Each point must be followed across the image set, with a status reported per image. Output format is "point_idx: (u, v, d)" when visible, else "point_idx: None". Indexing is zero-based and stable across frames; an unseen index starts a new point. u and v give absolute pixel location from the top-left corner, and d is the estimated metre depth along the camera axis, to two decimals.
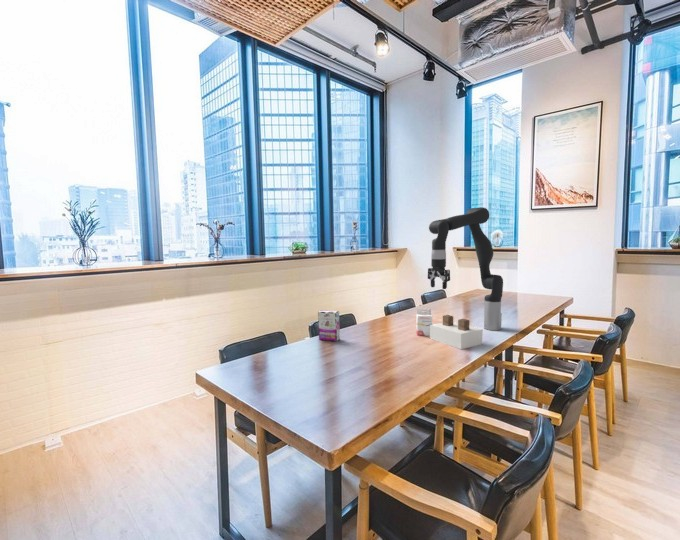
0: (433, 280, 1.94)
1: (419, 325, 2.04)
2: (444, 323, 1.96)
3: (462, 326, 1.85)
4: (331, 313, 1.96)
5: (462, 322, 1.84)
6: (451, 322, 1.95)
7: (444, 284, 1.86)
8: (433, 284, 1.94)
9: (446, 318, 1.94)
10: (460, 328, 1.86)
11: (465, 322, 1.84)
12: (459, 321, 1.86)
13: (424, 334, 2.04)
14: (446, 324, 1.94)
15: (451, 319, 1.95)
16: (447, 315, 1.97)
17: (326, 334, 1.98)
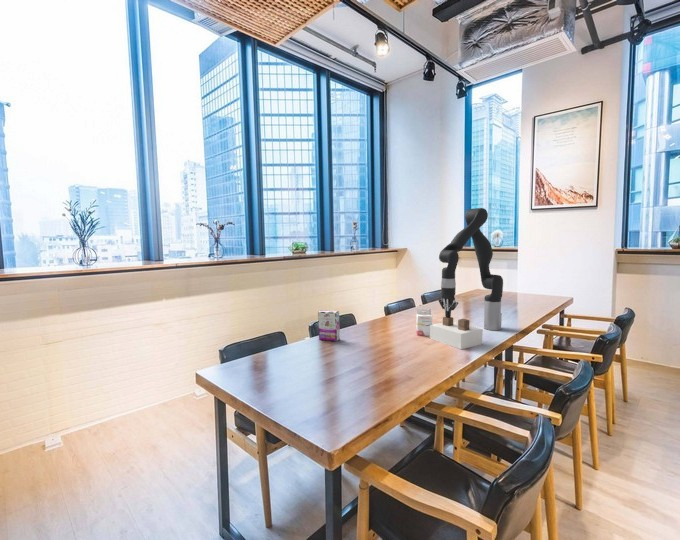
0: None
1: (419, 325, 2.04)
2: (444, 324, 1.96)
3: (462, 326, 1.85)
4: (331, 313, 1.96)
5: (462, 322, 1.84)
6: (451, 323, 1.95)
7: (448, 313, 1.94)
8: None
9: (446, 319, 1.94)
10: (460, 328, 1.86)
11: (465, 322, 1.84)
12: (459, 321, 1.86)
13: (424, 334, 2.04)
14: (446, 325, 1.95)
15: (451, 320, 1.95)
16: None
17: (326, 334, 1.98)
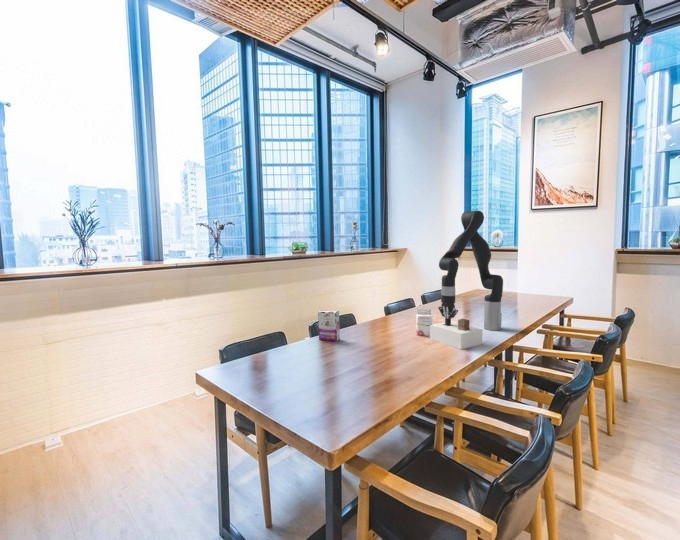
0: None
1: (419, 325, 2.04)
2: None
3: (462, 326, 1.85)
4: (331, 313, 1.96)
5: (462, 322, 1.84)
6: None
7: (448, 321, 1.95)
8: None
9: None
10: (460, 328, 1.86)
11: (465, 322, 1.84)
12: (459, 321, 1.86)
13: (424, 334, 2.04)
14: None
15: None
16: None
17: (326, 334, 1.98)
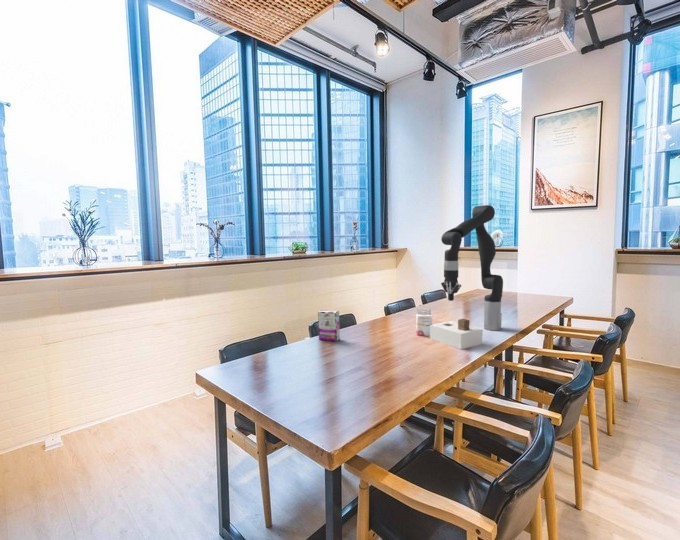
0: None
1: (419, 325, 2.04)
2: None
3: (462, 326, 1.85)
4: (331, 313, 1.96)
5: (462, 322, 1.84)
6: None
7: (451, 296, 1.92)
8: None
9: None
10: (460, 328, 1.86)
11: (465, 322, 1.84)
12: (459, 321, 1.86)
13: (424, 334, 2.04)
14: None
15: None
16: (447, 324, 1.97)
17: (326, 334, 1.98)
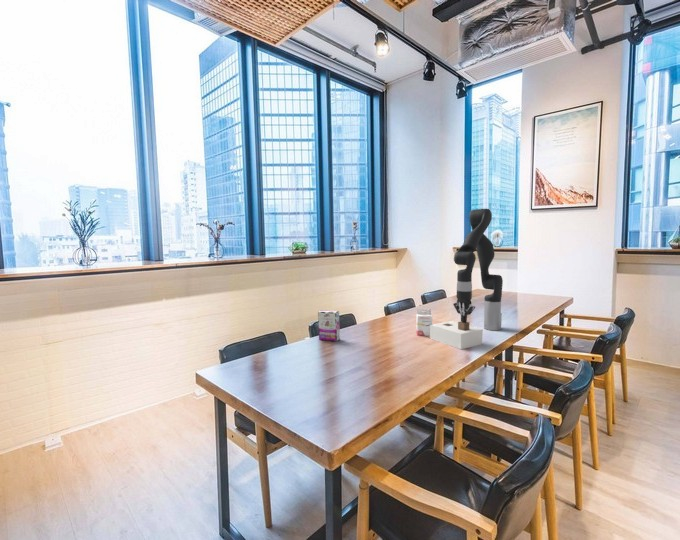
0: None
1: (419, 325, 2.04)
2: None
3: (462, 329, 1.85)
4: (331, 313, 1.96)
5: (462, 324, 1.84)
6: None
7: (464, 318, 1.85)
8: None
9: None
10: None
11: (465, 324, 1.84)
12: (459, 323, 1.86)
13: (424, 334, 2.04)
14: None
15: None
16: (447, 324, 1.97)
17: (326, 334, 1.98)
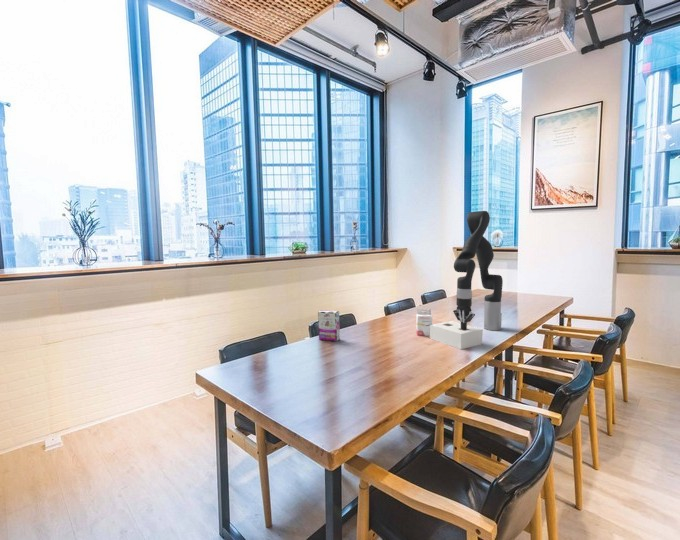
0: None
1: (419, 325, 2.04)
2: None
3: None
4: (331, 313, 1.96)
5: None
6: None
7: (464, 325, 1.85)
8: None
9: None
10: None
11: None
12: None
13: (424, 334, 2.04)
14: None
15: None
16: (447, 324, 1.97)
17: (326, 334, 1.98)
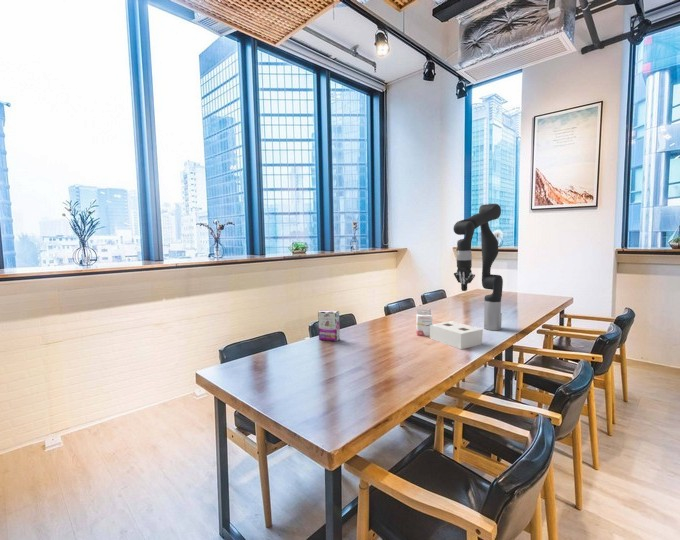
0: None
1: (419, 325, 2.04)
2: None
3: None
4: (331, 313, 1.96)
5: None
6: None
7: (464, 286, 1.89)
8: None
9: None
10: None
11: None
12: None
13: (424, 334, 2.04)
14: None
15: None
16: (447, 324, 1.97)
17: (326, 334, 1.98)
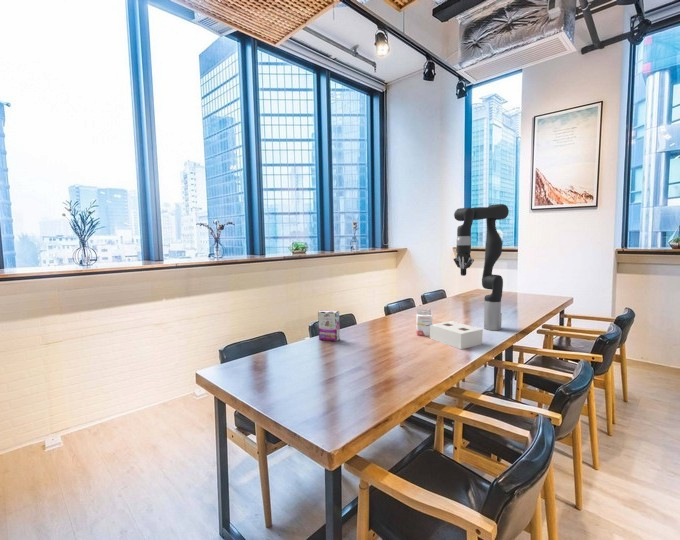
0: None
1: (419, 325, 2.04)
2: None
3: None
4: (331, 313, 1.96)
5: None
6: None
7: (464, 271, 1.96)
8: None
9: None
10: None
11: None
12: None
13: (424, 334, 2.04)
14: None
15: None
16: (447, 324, 1.97)
17: (326, 334, 1.98)
